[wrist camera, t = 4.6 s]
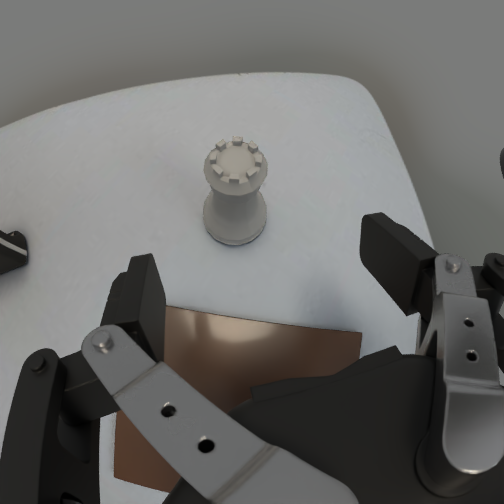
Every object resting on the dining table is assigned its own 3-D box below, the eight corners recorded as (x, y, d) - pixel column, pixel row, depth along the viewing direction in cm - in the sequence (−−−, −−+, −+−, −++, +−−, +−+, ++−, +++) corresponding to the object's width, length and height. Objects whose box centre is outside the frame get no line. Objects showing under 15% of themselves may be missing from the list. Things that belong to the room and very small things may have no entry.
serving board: (359, 332, 20) (362, 332, 20) (326, 502, 17) (327, 505, 16) (134, 299, 20) (131, 298, 20) (115, 475, 16) (113, 477, 16)
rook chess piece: (277, 228, 22) (300, 172, 14) (223, 258, 21) (217, 215, 13) (245, 179, 23) (251, 110, 15) (193, 207, 22) (174, 144, 14)
